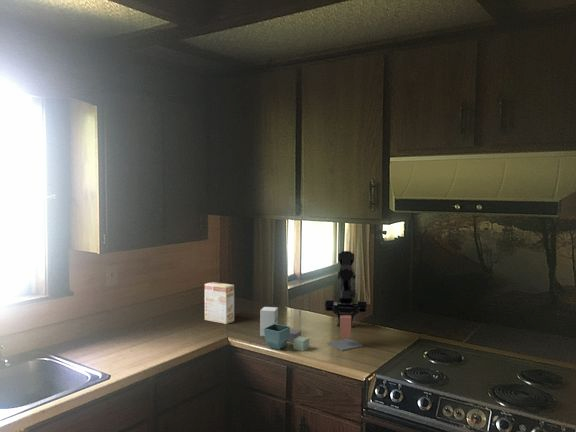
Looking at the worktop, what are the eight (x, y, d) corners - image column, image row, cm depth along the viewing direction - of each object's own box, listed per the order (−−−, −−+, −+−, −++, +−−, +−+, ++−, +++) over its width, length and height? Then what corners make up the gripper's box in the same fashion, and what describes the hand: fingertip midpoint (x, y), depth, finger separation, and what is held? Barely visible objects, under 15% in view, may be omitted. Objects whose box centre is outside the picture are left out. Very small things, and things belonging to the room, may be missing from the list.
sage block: (298, 346, 223) (298, 336, 223) (308, 348, 221) (308, 338, 221) (293, 349, 219) (293, 339, 219) (303, 351, 217) (303, 341, 216)
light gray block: (291, 339, 234) (291, 329, 233) (300, 340, 231) (300, 331, 231) (285, 341, 229) (285, 332, 229) (295, 343, 227) (295, 334, 226)
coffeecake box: (234, 321, 262) (234, 284, 261) (226, 324, 256) (225, 287, 255) (213, 317, 270) (212, 281, 269) (204, 320, 264) (203, 283, 263)
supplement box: (274, 337, 235) (274, 311, 235) (259, 336, 237) (259, 310, 236) (278, 332, 243) (278, 307, 242) (263, 331, 244) (263, 306, 243)
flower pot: (280, 352, 215) (280, 331, 215) (263, 348, 220) (263, 328, 219) (290, 346, 223) (290, 326, 222) (274, 342, 227) (274, 323, 227)
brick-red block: (339, 334, 227) (340, 314, 227) (350, 334, 227) (351, 315, 226) (339, 337, 222) (339, 317, 222) (351, 338, 222) (351, 318, 221)
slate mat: (348, 339, 233) (348, 338, 233) (363, 346, 223) (363, 345, 223) (327, 343, 226) (327, 342, 226) (342, 350, 217) (342, 349, 217)
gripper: (325, 282, 228) (324, 312, 218) (366, 283, 226) (367, 314, 216) (326, 295, 236) (324, 325, 226) (365, 296, 234) (366, 326, 224)
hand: (345, 322), depth 223 cm, fingers closed on brick-red block, 5 cm apart
